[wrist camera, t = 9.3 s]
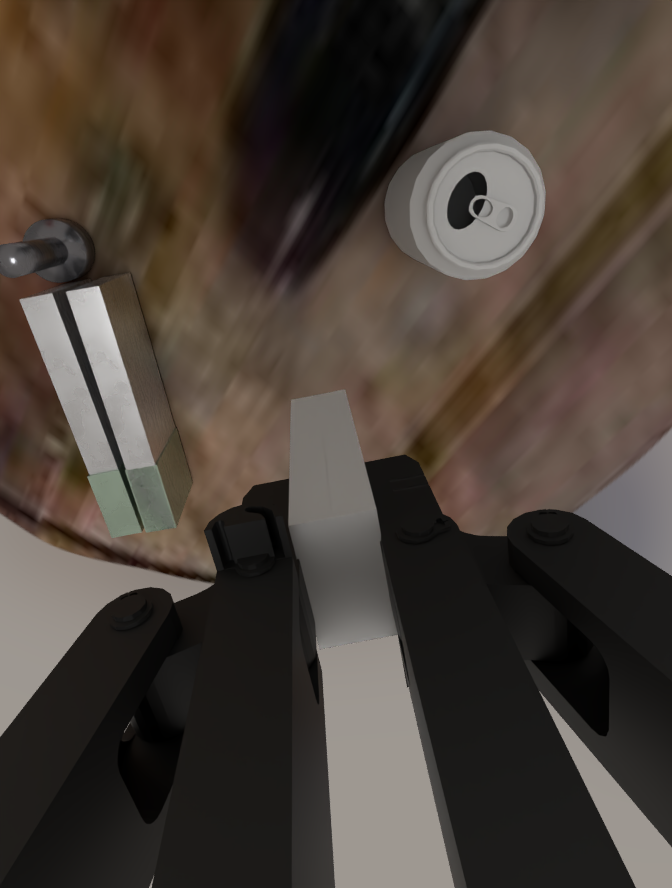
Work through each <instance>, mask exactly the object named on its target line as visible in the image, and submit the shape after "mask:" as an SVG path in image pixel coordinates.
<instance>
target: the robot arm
mask: <svg viewBox="0 0 672 888" xmlns="http://www.w3.org/2000/svg"><path fill="white" fill-rule="evenodd" d="M204 532H205V535H206V538H207V541H208V544H209V548H210V551H211V554H212V557H213V560H214V563H215V566H216V569H217V574H216V579H215V584H214V585H212V586H211V587H209V588H208V589H206V590H204V591H202V592H200V593H198V594H196V595H193V596H191V597H188V598H186V599H183V600H181V601H178V602H176V603H174V602H173V599H172V597H171V594H170V593H168V592H167V591H165V590H164V589H160V588H152V587H150V588H143V589H138V590H134V591H131V592H129V593H125V594H123V595H121V596H119V597H118V598H116V599H115V600H113V601H111V602H110V603H108V604H107V605H106V606H105V607H104V608H103V609H102V610H100V611H99V612H98V613H97V614H96V616H95V617H94V618H93V619H92V621H91V622H90V623H89V624H88V626H87V627H86V628H85V630H84V631H83V632H82V633H81V635H80V636H79V637H78V638H77V640H76V641H75V642H74V644H73V645H72V646H71V647H70V649H69V650H68V651H67V653H66V654H65V655H64V656H63V658H62V659H61V660H60V662H59V663H58V664H57V665H56V667H55V668H54V669H53V670H52V672H51V673H50V674H49V676H48V677H47V678H46V679H45V681H44V682H43V683H42V685H41V686H40V687H39V688H38V690H37V691H36V692H35V693H34V695H33V696H32V697H31V699H30V700H29V701H28V702H27V704H26V705H25V706H24V707H23V709H22V710H21V711H20V713H19V714H18V715H17V716H16V718H15V719H14V720H13V722H12V723H11V724H10V725H9V727H8V728H7V729H6V731H5V732H4V733H3V734H2V736H1V737H0V888H149V886H150V883H151V881H152V879H153V876H154V879H153V884H152V888H335V880H334V864H333V847H332V830H331V814H330V798H329V780H328V764H327V747H326V731H325V714H324V698H323V681H322V670H321V666H320V661H319V658H318V654H317V650H316V637H317V641H318V645H319V649H325V648H331V647H336V646H341V645H346V644H352V643H357V642H362V641H367V640H373V639H377V638H383V637H388V636H393V635H398V638H399V644H400V650H401V655H402V661H403V667H404V672H405V678H406V683H407V687H409V690H410V694H411V699H412V703H413V707H414V712H415V716H416V721H417V725H418V730H419V734H420V738H421V742H422V747H423V751H424V756H425V760H426V764H427V769H428V773H429V778H430V782H431V786H432V791H433V795H434V799H435V804H436V808H437V812H438V816H439V821H440V825H441V829H442V834H443V838H444V843H445V847H446V852H447V856H448V860H449V865H450V869H451V873H452V878H453V882H454V887H455V888H636V887H635V885H634V883H633V881H632V879H631V877H630V875H629V873H628V871H627V869H626V867H625V865H624V863H623V861H622V859H621V857H620V854H619V853H618V850H617V848H616V847H615V845H614V842H613V840H612V839H611V836H610V834H609V832H608V830H607V828H606V826H605V824H604V822H603V820H602V818H601V816H600V814H599V812H598V810H597V808H596V806H595V804H594V802H593V800H592V798H591V796H590V794H589V792H588V790H587V787H586V786H585V783H584V781H583V779H582V777H581V775H580V773H579V771H578V769H577V767H576V765H575V763H574V761H573V759H572V757H571V755H570V753H569V751H568V749H567V747H566V745H565V743H564V741H563V739H562V737H561V735H560V733H559V731H558V729H557V727H556V725H555V723H554V721H553V719H552V716H551V715H550V712H549V710H548V708H547V707H546V704H545V702H544V701H543V698H542V696H541V694H540V692H541V693H542V694H543V696H544V697H545V698H546V699H547V700H548V702H549V703H550V704H551V705H552V706H553V707H554V709H555V710H556V711H557V712H558V713H559V715H560V716H561V717H562V718H563V719H564V720H565V722H566V723H567V724H568V725H569V726H570V728H571V729H572V730H573V731H574V732H575V733H576V735H577V736H578V737H579V738H580V739H581V741H582V742H583V743H584V744H585V745H586V746H587V748H588V749H589V750H590V751H591V752H592V753H593V755H594V756H595V757H596V758H597V759H598V761H599V762H600V763H601V764H602V765H603V766H604V768H605V769H606V770H607V771H608V772H609V773H610V775H611V776H612V777H613V778H614V779H615V781H616V782H617V783H618V784H619V785H620V786H621V788H622V789H623V790H624V791H625V792H626V794H627V795H628V796H629V797H630V798H631V799H632V801H633V802H634V803H635V804H636V805H637V807H638V808H639V809H640V810H641V811H642V812H643V814H644V815H645V816H646V817H647V818H648V820H649V821H650V822H651V823H652V824H653V825H654V827H655V828H656V829H657V830H658V831H659V833H660V834H661V835H662V836H663V837H664V838H665V840H666V841H667V842H668V843H669V844H670V845H671V847H672V576H671V575H669V574H668V573H666V572H665V571H663V570H662V569H660V568H658V567H657V566H656V565H654V564H652V563H651V562H650V561H648V560H646V559H645V558H643V557H642V556H640V555H639V554H637V553H636V552H634V551H633V550H631V549H630V548H628V547H627V546H625V545H623V544H622V543H621V542H619V541H618V540H616V539H615V538H613V537H612V536H610V535H609V534H607V533H606V532H604V531H603V530H601V529H599V528H598V527H597V526H595V525H594V524H592V523H591V522H589V521H588V520H586V519H584V518H582V517H580V516H578V515H576V514H573V513H570V512H565V511H560V510H552V509H548V510H546V509H545V510H537V511H532V512H528V513H524V514H522V515H520V516H519V517H517V518H515V519H513V521H512V522H511V523H510V524H509V526H508V527H507V536H478V535H472V534H468V533H464V532H462V531H460V530H459V528H458V526H457V524H456V523H455V522H454V521H453V520H452V519H451V518H450V517H448V516H446V515H443V514H442V511H441V509H440V507H439V505H438V503H437V501H436V499H435V497H434V494H433V492H432V490H431V488H430V486H429V485H428V482H427V480H426V477H425V476H424V473H423V471H422V469H421V467H420V465H419V462H417V461H415V460H413V459H412V458H410V457H408V456H407V455H400V456H395V457H390V458H385V459H380V460H375V461H369V462H364V460H363V456H362V452H361V448H360V445H359V441H358V437H357V433H356V429H355V426H354V422H353V418H352V414H351V410H350V407H349V403H348V399H347V395H346V391H345V389H344V390H339V391H334V392H329V393H324V394H319V395H314V396H308V397H303V398H298V399H293V400H291V427H290V473H289V479H285V480H280V481H275V482H270V483H265V484H259V485H254V486H253V487H252V488H251V490H250V491H249V492H248V493H247V494H246V495H245V497H244V498H243V502H242V505H240V506H237V507H233V508H231V509H229V510H227V511H225V512H223V513H221V514H219V515H217V516H216V517H215V518H214V519H213V520H211V521H210V522H209V523H208V525H207V527H206V528H205V530H204ZM539 691H540V692H539ZM129 722H130V724H129ZM128 724H129V725H128ZM127 726H128V727H127ZM126 728H127V729H126ZM125 729H126V731H125ZM124 731H125V732H124Z"/></svg>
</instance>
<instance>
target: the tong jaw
mask: <svg viewBox="0 0 672 888" xmlns="http://www.w3.org/2000/svg"><path fill="white" fill-rule="evenodd" d="M66 294H67V297H68V300H69V303H70V306H71V308H72V311H73V314H74V317H75V320H76V323H77V326H78V329H79V332H80V335H81V338H82V341H83V344H84V347H85V350H86V353H87V356H88V359H89V362H90V364H91V367H92V370H93V373H94V376H95V379H96V382H97V385H98V388H99V391H100V394H101V397H102V400H103V403H104V406H105V409H106V412H107V415H108V417H109V420H110V423H111V426H112V429H113V432H114V435H115V438H116V441H117V444H118V447H119V450H120V453H121V456H122V459H123V462H124V465H125V468H126V470H125V472H126V475H127V478H128V481H129V484H130V487H131V490H132V493H133V496H134V499H135V501H136V504H137V507H138V510H139V513H140V516H141V519H142V522H143V525H144V528H145V531H146V532H152V531H158V530H164V529H170V528H176V527H177V525H178V522H179V519H180V516H181V514H182V511H183V508H184V505H185V503H186V500H187V497H188V494H189V492H190V489H191V486H192V483H193V482H192V479H191V475H190V472H189V468H188V465H187V462H186V458H185V455H184V451H183V448H182V444H181V441H180V437H179V434H178V431H177V427H176V428H175V425H174V421H173V418H172V414H171V411H170V408H169V404H168V401H167V397H166V394H165V390H164V387H163V383H162V380H161V377H160V373H159V370H158V366H157V363H156V359H155V356H154V353H153V349H152V346H151V342H150V339H149V335H148V332H147V329H146V325H145V322H144V318H143V315H142V311H141V308H140V304H139V301H138V298H137V294H136V291H135V287H134V284H133V280H132V277H131V274H130V273H124V274H118V275H112V276H106V277H102V278H99V279H97V280H94V281H91V282H89V283H86V284H84V285H81V286H79V287H76V288H74V289H71V290H69V291H66Z"/></svg>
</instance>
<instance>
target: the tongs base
mask: <svg viewBox="0 0 672 888" xmlns="http://www.w3.org/2000/svg"><path fill="white" fill-rule="evenodd" d="M94 260H95V248H94V244H93V241H92V239H91V237H90V236H89V234H88V233H87V232H86V230H85V229H84V228H82V227H81V226H80V225H79V224H77V223H75V222H73V221H71V220H68V219H46V220H41V221H38V222H36V223H34V224H33V225H31V226H30V227H29V228H28V230H27V231H26V233H25V235H24V239H23V242H16V243H9V244H3V245H0V273H1V274H2V275H4V276H6V277H10V278H16V277H19V276H23V275H27V274H30V273H34V272H35V273H36V274H38V275H39V276H40V277H42V278H44V279H46V280H48V281H52V282H57V283H62V282H68V281H71V280H74V279H76V278H79V277H81V276H83V275H85V274H86V273H87V272H88V271H89V270H90V269H91V267H92V266H93V263H94ZM89 282H91V279H86V280H81V281H76V282H71V283H66V284H62V285H59V286H56V287H53V288H51V289H48V290H45V291H42V292H39V293H37V294H34V295H31V296H28V297H25V298H23V299H20V302H21V305H22V307H23V310H24V312H25V315H26V317H27V320H28V322H29V325H30V327H31V330H32V332H33V335H34V337H35V340H36V342H37V345H38V347H39V350H40V352H41V355H42V357H43V360H44V362H45V365H46V367H47V370H48V372H49V375H50V377H51V380H52V382H53V385H54V387H55V390H56V392H57V395H58V397H59V400H60V402H61V405H62V407H63V410H64V412H65V415H66V417H67V420H68V422H69V425H70V427H71V430H72V432H73V435H74V437H75V440H76V442H77V445H78V447H79V450H80V452H81V455H82V457H83V460H84V462H85V465H86V467H87V470H88V472H89V475H88V476H87V477H88V480H89V482H90V485H91V487H92V490H93V492H94V495H95V497H96V500H97V502H98V505H99V507H100V510H101V512H102V514H103V517H104V519H105V522H106V524H107V527H108V529H109V532H110V534H111V537H112V538H114V537H119V536H125V535H130V534H135V533H140V532H142V531H143V529H144V525H143V522H142V519H141V516H140V513H139V510H138V507H137V504H136V501H135V499H134V496H133V493H132V490H131V487H130V484H129V481H128V478H127V475H126V472H125V470H126V468H125V465H124V462H123V459H122V456H121V453H120V450H119V447H118V444H117V441H116V438H115V435H114V432H113V429H112V426H111V423H110V420H109V417H108V415H107V412H106V409H105V406H104V403H103V400H102V397H101V394H100V391H99V388H98V385H97V382H96V379H95V376H94V373H93V370H92V367H91V364H90V362H89V359H88V356H87V353H86V350H85V347H84V344H83V341H82V338H81V335H80V332H79V329H78V326H77V323H76V320H75V317H74V314H73V311H72V308H71V306H70V303H69V300H68V297H67V294H66V291H69V290H71V289H74V288H76V287H79V286H81V285H84V284H86V283H89Z"/></svg>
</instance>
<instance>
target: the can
mask: <svg viewBox="0 0 672 888" xmlns="http://www.w3.org/2000/svg"><path fill="white" fill-rule="evenodd" d="M545 194H546V191H545V186H544V182H543V178H542V173H541V169H540V167H539V166H538V164H537V163H536V161H535V159H534V158H533V156H532V155H531V153H530V151H529V150H528V149H527V148H525V147H524V146H523V145H522V144H520V143H519V142H518V141H516V140H515V139H514V138H513V137H511V136H508V135H504V134H501V133H497V132H494V131H491V130H490V131H477V132H467V133H465V134H462V135H460V136H457V137H455V138H452V139H450V140H447V141H445V142H442V143H440V144H437V145H435V146H432V147H430V148H427V149H425V150H423V151H421V152H419V153H416V154H414V155H412V156H411V157H410V158H409V159H408V160H407V161H406V162H404V163H403V164H402V165H401V166H400V167H399V168H398V170H397V172H396V173H395V175H394V177H393V178H392V180H391V182H390V183H389V186H388V190H387V194H386V198H385V202H384V203H385V221H386V224H387V227H388V230H389V233H390V236H391V238H392V239H393V240H394V242H395V243H396V244H397V246H398V247H399V248H400V250H401V251H403V252H404V253H406V254H407V255H409V256H410V257H412V258H413V259H415V260H417V261H419V262H421V263H423V264H425V265H427V266H429V267H431V268H433V269H435V270H437V271H439V272H441V273H443V274H445V275H448V276H452V277H456V278H460V279H464V280H472V279H484V278H488V277H491V276H493V275H495V274H498V273H500V272H502V271H505V270H507V269H508V268H509V267H510V266H511V265H513V264H514V263H515V262H516V261H518V260H519V259H520V258H521V257H522V256H523V255H524V254H525V253H526V251H527V250H528V248H529V247H530V245H531V244H532V242H533V241H534V240H535V238H536V237H537V234H538V231H539V228H540V225H541V222H542V220H543V217H544V210H545Z"/></svg>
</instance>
